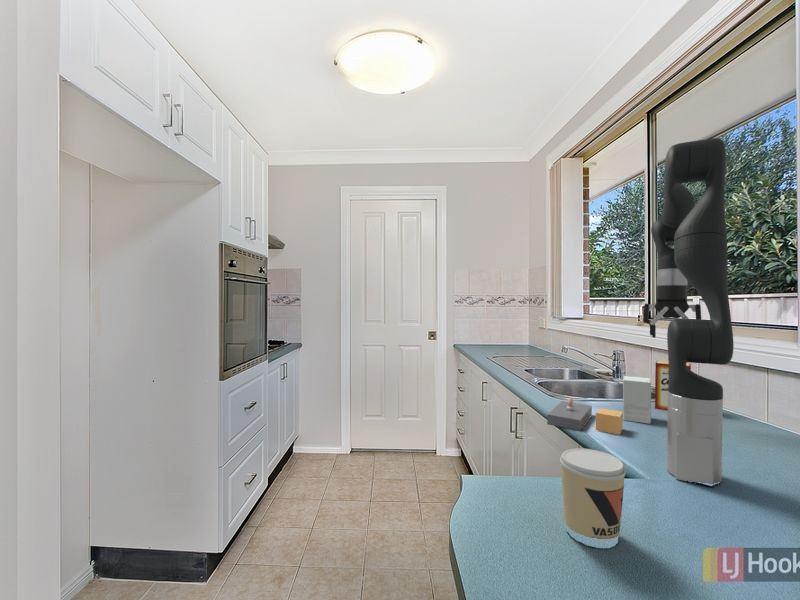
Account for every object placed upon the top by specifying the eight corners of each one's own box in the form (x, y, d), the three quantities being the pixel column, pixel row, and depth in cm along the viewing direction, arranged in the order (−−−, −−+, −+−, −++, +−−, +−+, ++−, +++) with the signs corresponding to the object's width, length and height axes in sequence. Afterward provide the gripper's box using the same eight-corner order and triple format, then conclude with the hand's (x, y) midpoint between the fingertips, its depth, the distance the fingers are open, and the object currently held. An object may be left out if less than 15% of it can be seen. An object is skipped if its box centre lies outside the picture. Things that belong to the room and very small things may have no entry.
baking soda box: (655, 408, 130) (655, 361, 130) (656, 404, 135) (657, 359, 135) (689, 414, 124) (690, 365, 124) (690, 409, 129) (690, 362, 129)
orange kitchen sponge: (620, 435, 105) (620, 416, 105) (595, 430, 108) (596, 412, 108) (622, 428, 110) (622, 411, 110) (599, 424, 113) (599, 407, 113)
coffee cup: (595, 560, 55) (596, 477, 55) (546, 524, 64) (547, 452, 63) (638, 543, 59) (639, 465, 59) (587, 512, 67) (588, 444, 67)
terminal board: (580, 430, 108) (580, 407, 108) (547, 424, 113) (547, 402, 113) (591, 414, 123) (591, 394, 123) (562, 409, 128) (562, 390, 128)
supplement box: (650, 418, 120) (651, 377, 120) (651, 424, 114) (651, 382, 114) (623, 414, 124) (623, 375, 124) (622, 420, 118) (622, 379, 118)
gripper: (642, 284, 116) (642, 337, 116) (702, 283, 108) (701, 341, 108) (644, 285, 122) (644, 336, 122) (701, 284, 114) (700, 339, 114)
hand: (671, 338), depth 115 cm, fingers open, 8 cm apart
